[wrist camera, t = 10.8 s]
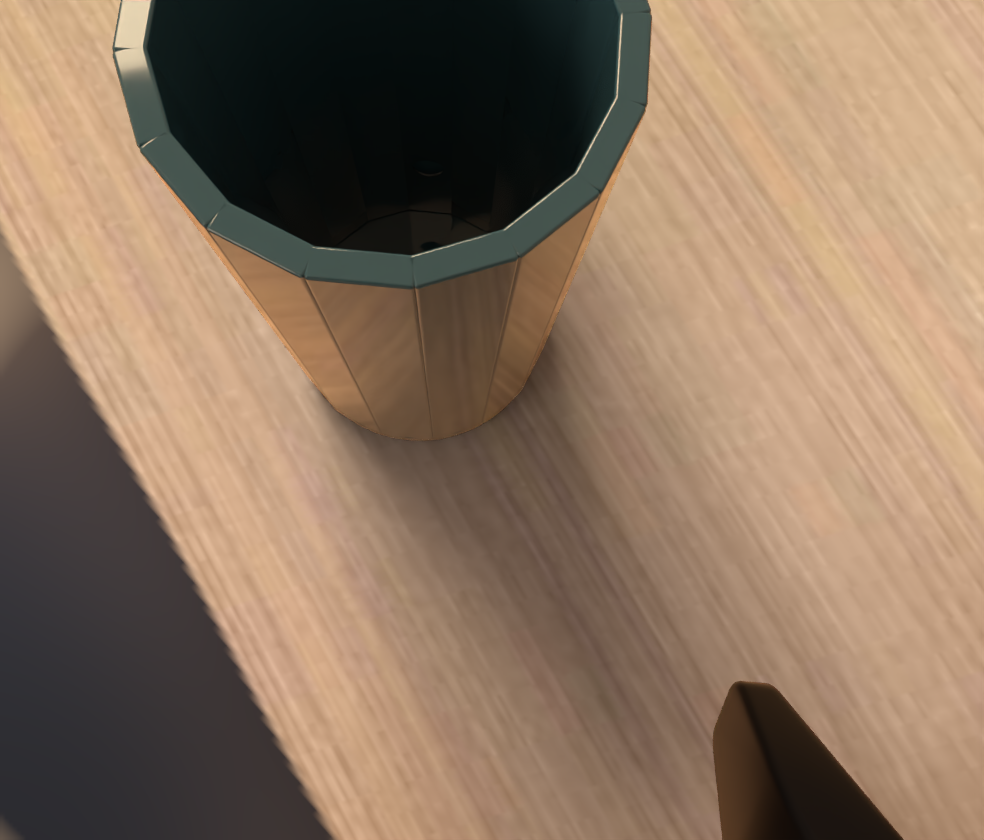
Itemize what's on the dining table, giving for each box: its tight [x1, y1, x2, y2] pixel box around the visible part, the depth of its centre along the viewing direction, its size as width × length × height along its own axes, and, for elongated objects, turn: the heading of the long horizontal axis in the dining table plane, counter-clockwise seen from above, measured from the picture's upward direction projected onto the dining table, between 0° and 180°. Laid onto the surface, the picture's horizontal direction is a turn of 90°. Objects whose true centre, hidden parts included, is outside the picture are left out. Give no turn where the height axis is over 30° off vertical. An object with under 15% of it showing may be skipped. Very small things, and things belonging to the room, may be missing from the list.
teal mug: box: [113, 0, 652, 441], centre depth 18 cm, size 10×7×13 cm, turn 175°
